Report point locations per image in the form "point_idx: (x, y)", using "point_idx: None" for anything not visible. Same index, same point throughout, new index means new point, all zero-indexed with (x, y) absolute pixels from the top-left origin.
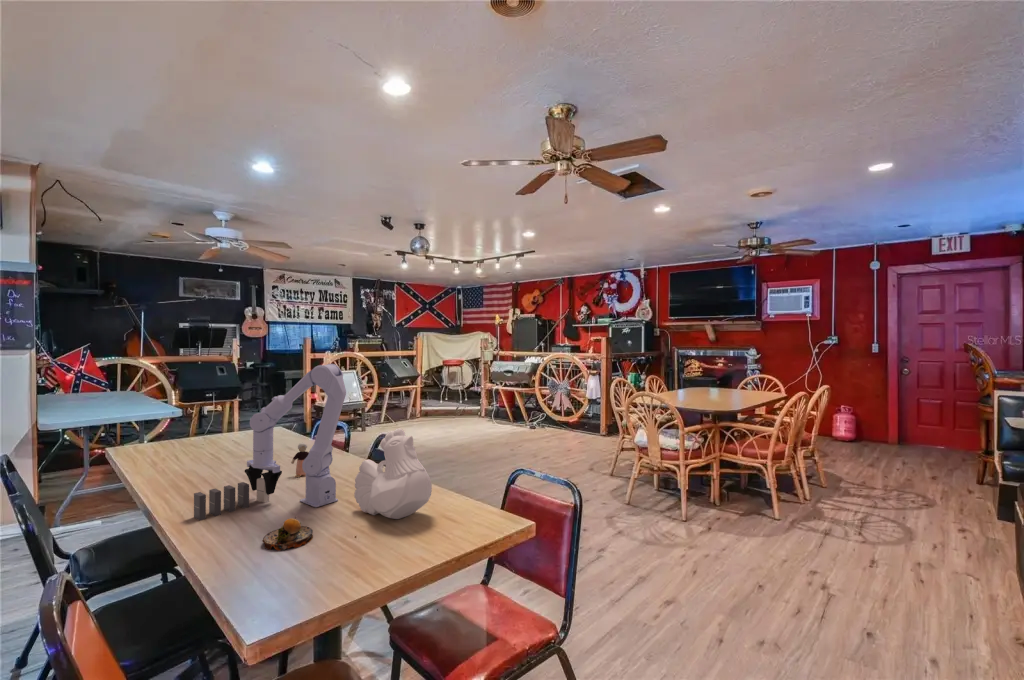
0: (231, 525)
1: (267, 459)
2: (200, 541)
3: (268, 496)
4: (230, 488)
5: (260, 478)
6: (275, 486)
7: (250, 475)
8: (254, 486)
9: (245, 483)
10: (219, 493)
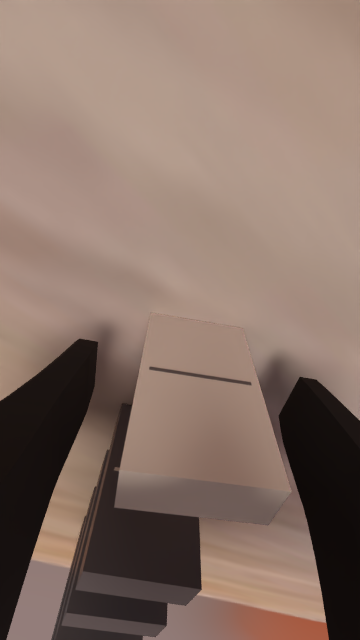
0: (288, 537)
1: None
2: (283, 591)
3: (248, 355)
4: (149, 633)
5: (142, 491)
6: (358, 422)
7: (23, 571)
8: (82, 406)
9: (146, 584)
10: (141, 636)
